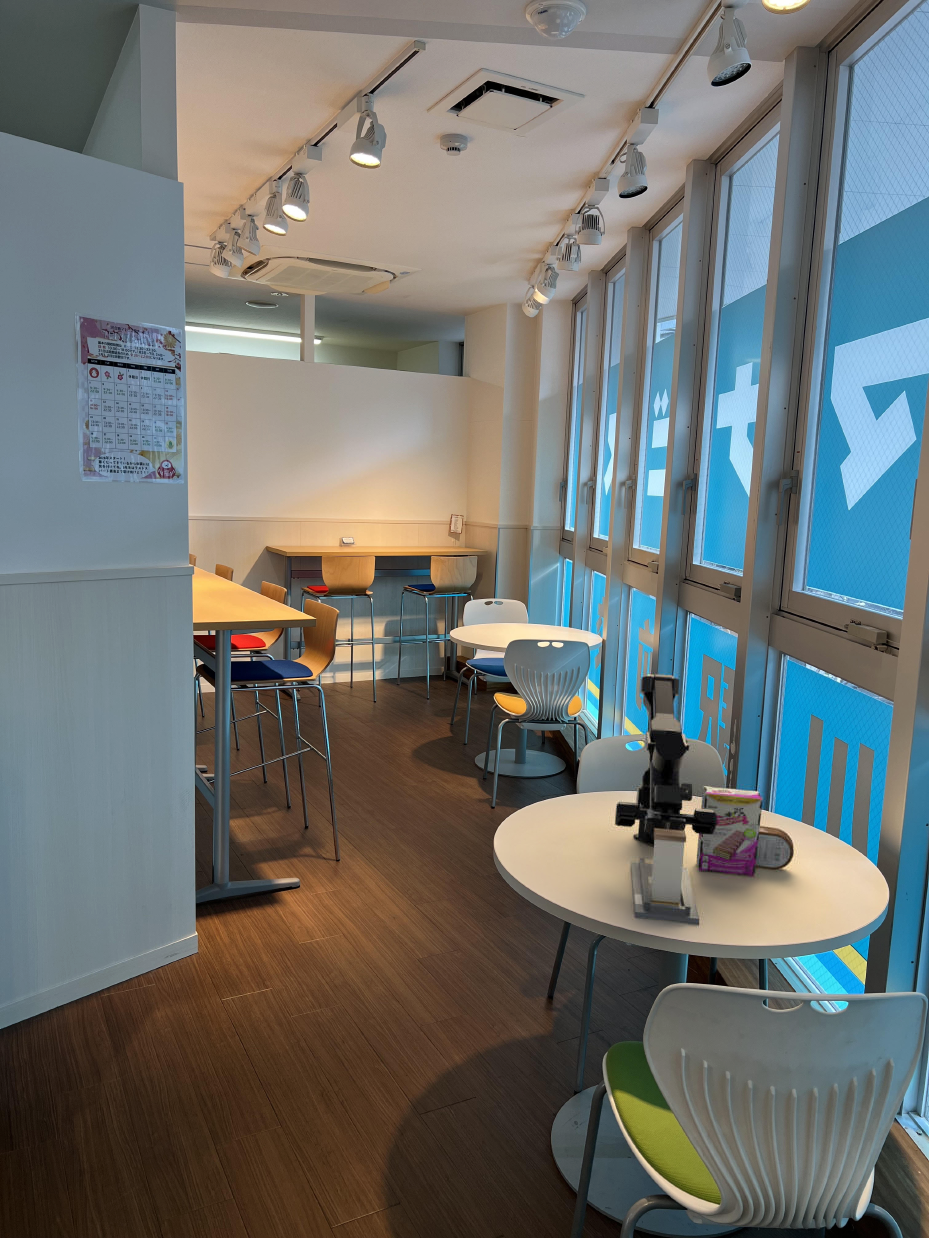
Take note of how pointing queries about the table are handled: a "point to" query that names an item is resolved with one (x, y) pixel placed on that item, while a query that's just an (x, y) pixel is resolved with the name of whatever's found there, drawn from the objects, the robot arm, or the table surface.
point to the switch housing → (661, 909)
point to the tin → (773, 848)
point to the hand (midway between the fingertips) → (665, 860)
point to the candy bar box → (730, 831)
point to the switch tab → (667, 865)
